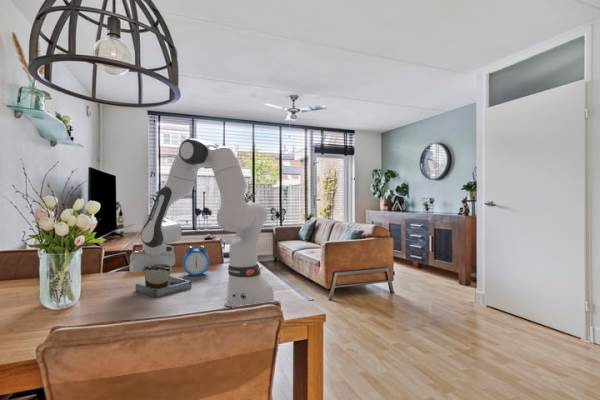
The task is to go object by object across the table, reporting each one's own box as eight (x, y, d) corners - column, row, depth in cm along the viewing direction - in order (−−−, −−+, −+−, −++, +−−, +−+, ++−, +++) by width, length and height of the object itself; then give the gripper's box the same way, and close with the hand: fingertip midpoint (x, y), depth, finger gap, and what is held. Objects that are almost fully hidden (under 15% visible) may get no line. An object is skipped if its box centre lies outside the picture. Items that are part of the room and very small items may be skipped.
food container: (175, 285, 146) (176, 264, 146) (170, 289, 140) (171, 267, 140) (148, 284, 146) (149, 263, 146) (142, 288, 140) (143, 266, 139)
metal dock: (191, 287, 143) (191, 281, 143) (155, 297, 129) (154, 290, 129) (171, 281, 152) (171, 275, 152) (135, 290, 138) (135, 283, 138)
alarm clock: (182, 277, 161) (182, 247, 160) (183, 274, 167) (183, 245, 166) (209, 275, 165) (209, 246, 165) (209, 272, 171) (209, 244, 170)
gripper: (133, 253, 135) (133, 285, 135) (177, 246, 152) (177, 275, 152) (126, 251, 139) (126, 282, 139) (169, 245, 155) (169, 273, 156)
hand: (153, 278), depth 146 cm, fingers closed
